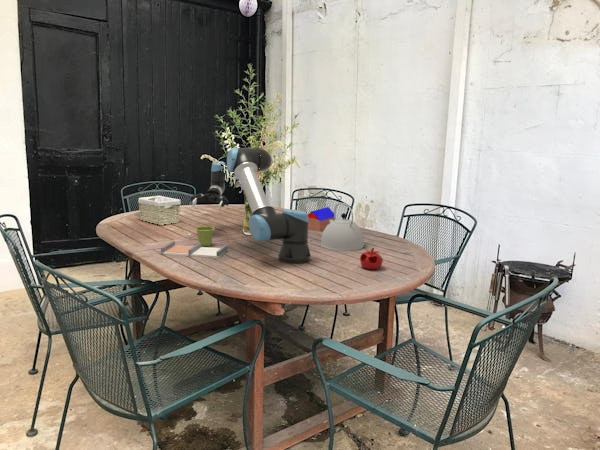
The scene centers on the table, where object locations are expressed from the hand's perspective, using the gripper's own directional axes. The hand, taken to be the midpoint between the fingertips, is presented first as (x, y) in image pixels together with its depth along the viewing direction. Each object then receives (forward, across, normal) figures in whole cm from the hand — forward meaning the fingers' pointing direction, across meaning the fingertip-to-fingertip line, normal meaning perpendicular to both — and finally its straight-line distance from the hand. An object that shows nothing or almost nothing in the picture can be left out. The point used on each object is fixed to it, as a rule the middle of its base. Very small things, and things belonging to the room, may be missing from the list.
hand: (206, 205), depth 246 cm
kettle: (-2, -72, -15) cm, 73 cm away
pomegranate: (+38, -82, -8) cm, 90 cm away
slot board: (+22, 0, -16) cm, 28 cm away
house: (-43, -62, -22) cm, 78 cm away
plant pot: (+8, -2, -19) cm, 20 cm away
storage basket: (-46, +37, -30) cm, 66 cm away
